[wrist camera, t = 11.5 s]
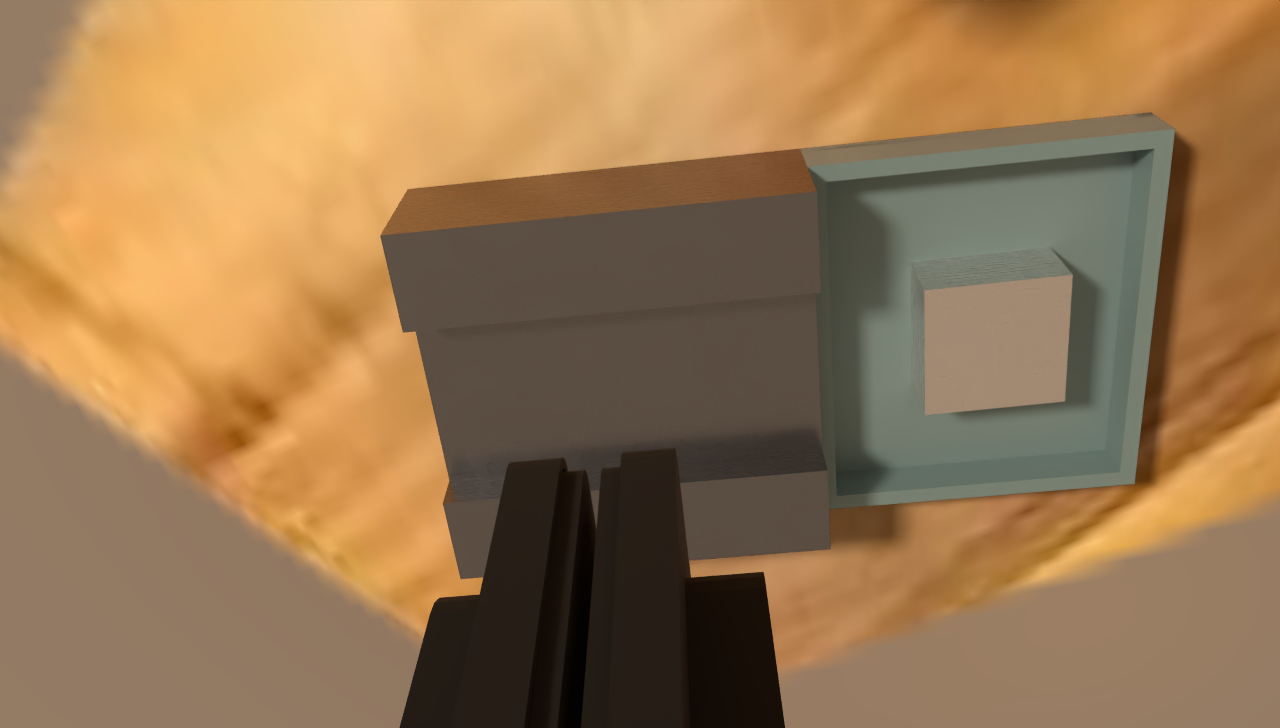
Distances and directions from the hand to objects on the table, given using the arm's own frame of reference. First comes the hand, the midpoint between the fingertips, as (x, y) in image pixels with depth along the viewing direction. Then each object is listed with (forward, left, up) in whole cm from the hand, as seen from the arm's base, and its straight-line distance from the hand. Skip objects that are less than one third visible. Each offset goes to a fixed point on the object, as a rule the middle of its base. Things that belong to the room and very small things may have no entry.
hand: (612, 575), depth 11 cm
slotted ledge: (+2, +12, -29) cm, 32 cm away
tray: (-11, +12, -29) cm, 33 cm away
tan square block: (-11, +12, -26) cm, 31 cm away
